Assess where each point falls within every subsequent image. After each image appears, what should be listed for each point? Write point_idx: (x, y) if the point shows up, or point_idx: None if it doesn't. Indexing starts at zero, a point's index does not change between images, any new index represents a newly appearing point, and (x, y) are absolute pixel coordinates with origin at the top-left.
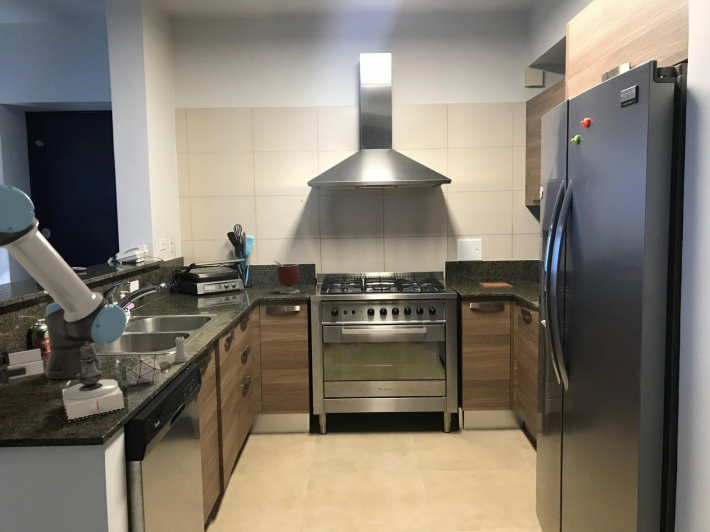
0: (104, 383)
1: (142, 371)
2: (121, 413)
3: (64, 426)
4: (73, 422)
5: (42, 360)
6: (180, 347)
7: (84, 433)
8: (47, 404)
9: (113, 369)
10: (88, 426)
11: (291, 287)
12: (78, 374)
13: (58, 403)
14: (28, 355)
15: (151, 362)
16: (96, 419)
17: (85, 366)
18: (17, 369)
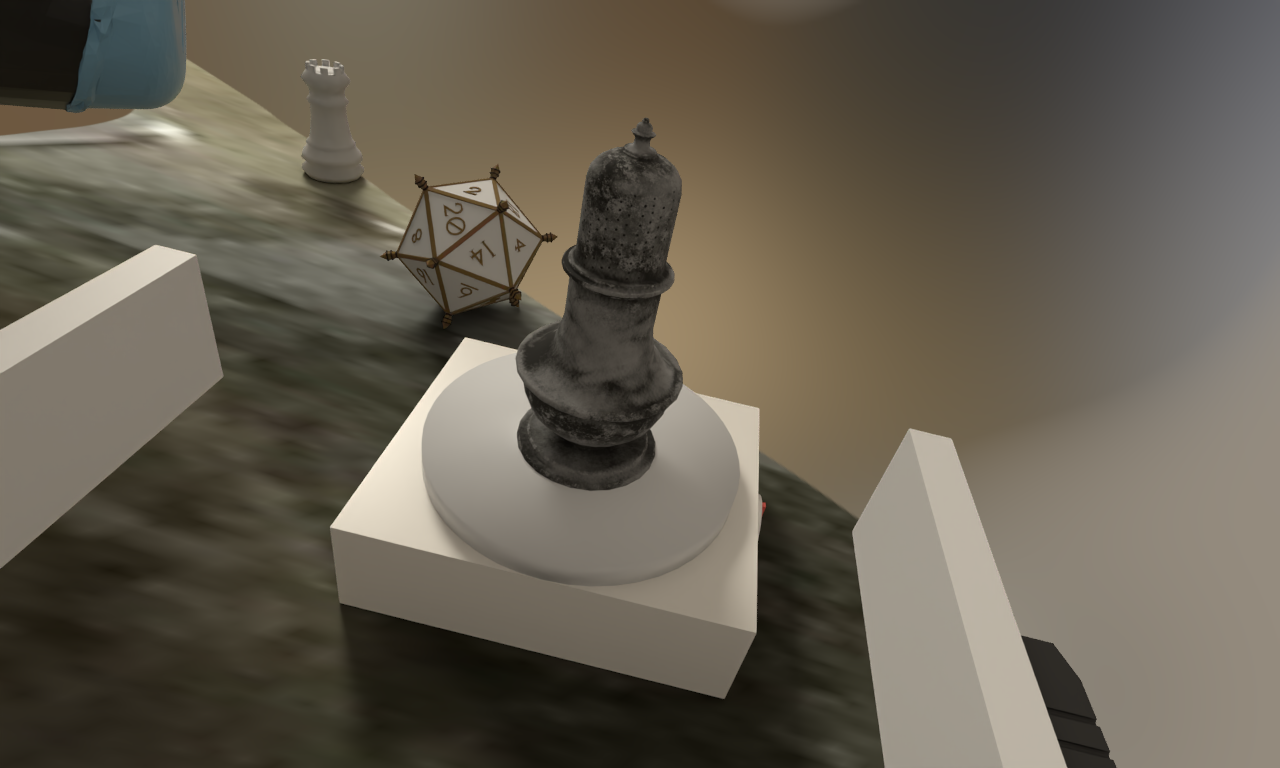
0: None
1: (515, 261)
2: (796, 501)
3: (793, 745)
4: (758, 684)
5: (913, 430)
6: (341, 112)
7: None
8: (183, 669)
9: (35, 258)
10: None
11: None
12: (560, 393)
13: (265, 615)
14: (94, 384)
15: (515, 208)
16: (800, 592)
17: (645, 327)
18: (1105, 749)
